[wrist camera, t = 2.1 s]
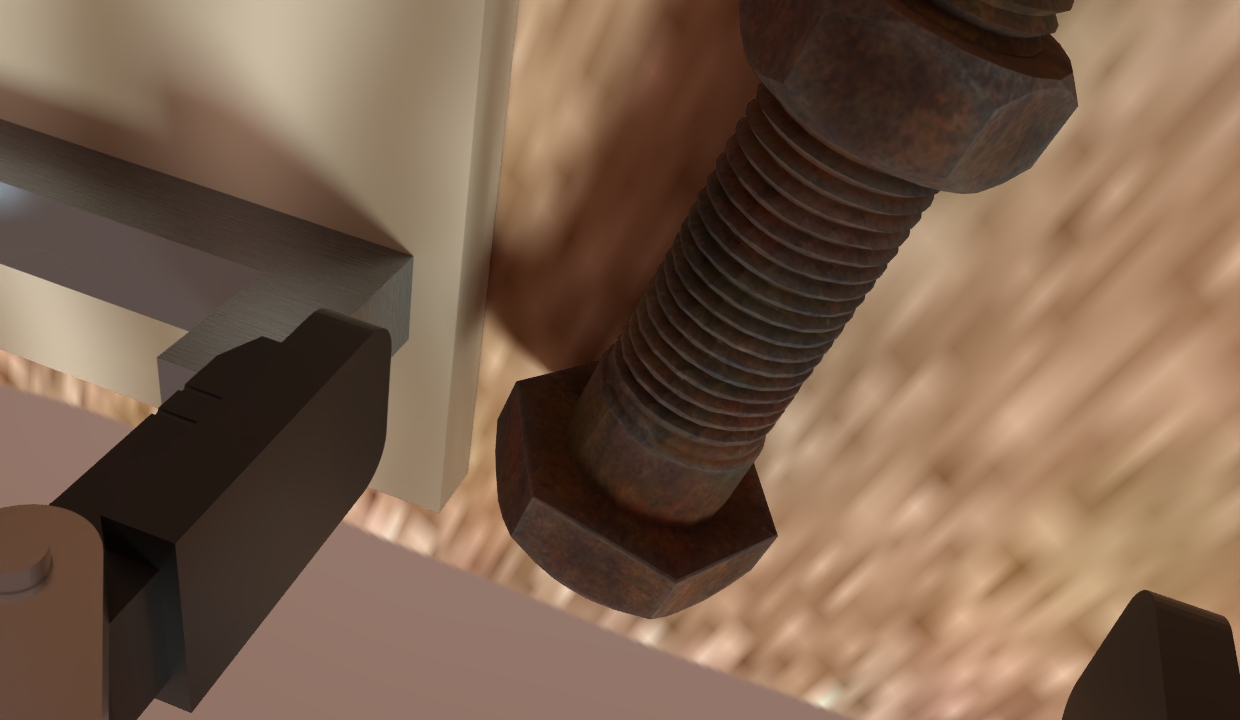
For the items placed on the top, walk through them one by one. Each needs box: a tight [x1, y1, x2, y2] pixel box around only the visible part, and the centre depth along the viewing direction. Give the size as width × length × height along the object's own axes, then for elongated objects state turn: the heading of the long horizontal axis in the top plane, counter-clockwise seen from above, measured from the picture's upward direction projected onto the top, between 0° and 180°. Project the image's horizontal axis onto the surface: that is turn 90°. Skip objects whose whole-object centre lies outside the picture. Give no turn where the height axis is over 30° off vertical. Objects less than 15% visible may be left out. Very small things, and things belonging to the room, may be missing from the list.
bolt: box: [495, 0, 1078, 619], centre depth 18 cm, size 6×5×15 cm
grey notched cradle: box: [0, 119, 414, 404], centre depth 19 cm, size 12×11×5 cm
